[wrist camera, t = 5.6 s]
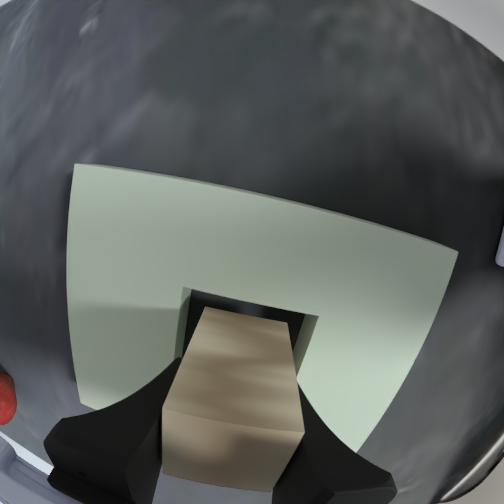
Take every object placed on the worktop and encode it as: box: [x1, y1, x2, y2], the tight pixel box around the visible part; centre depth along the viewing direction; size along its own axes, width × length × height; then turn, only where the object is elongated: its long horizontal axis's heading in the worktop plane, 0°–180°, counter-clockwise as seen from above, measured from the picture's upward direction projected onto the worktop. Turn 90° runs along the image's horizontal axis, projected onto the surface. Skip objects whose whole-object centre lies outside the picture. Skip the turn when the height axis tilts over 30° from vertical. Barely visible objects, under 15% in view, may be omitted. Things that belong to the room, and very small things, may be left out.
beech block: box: [162, 307, 305, 492], centre depth 11 cm, size 4×4×7 cm
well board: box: [67, 164, 458, 452], centre depth 15 cm, size 20×16×2 cm
